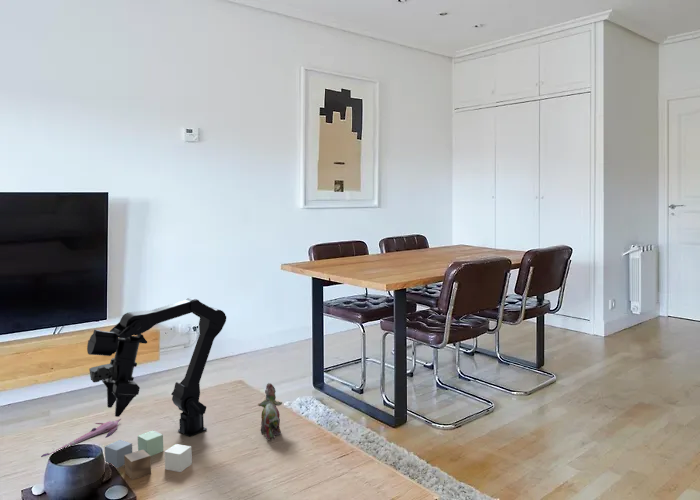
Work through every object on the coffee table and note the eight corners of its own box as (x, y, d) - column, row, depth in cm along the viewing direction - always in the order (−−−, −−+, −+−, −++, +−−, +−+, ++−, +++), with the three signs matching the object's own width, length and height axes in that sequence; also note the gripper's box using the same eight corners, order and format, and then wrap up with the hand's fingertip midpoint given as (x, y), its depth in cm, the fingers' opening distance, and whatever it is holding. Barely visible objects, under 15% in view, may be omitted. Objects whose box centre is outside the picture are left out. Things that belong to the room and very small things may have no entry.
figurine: (285, 426, 178) (284, 380, 176) (277, 442, 166) (276, 393, 165) (261, 425, 179) (260, 379, 177) (251, 441, 167) (250, 392, 165)
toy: (112, 411, 183) (134, 420, 179) (111, 417, 184) (133, 427, 180) (31, 449, 159) (54, 460, 154) (31, 456, 159) (54, 468, 155)
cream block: (176, 461, 154) (176, 443, 154) (191, 464, 153) (191, 446, 152) (164, 469, 150) (164, 451, 149) (180, 472, 148) (179, 454, 148)
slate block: (120, 456, 157) (120, 439, 157) (132, 460, 155) (132, 443, 154) (105, 463, 153) (104, 446, 153) (117, 468, 151) (116, 450, 150)
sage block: (154, 446, 164) (153, 430, 163) (163, 451, 161) (162, 434, 160) (138, 452, 160) (137, 435, 159) (147, 457, 157) (146, 440, 156)
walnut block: (143, 467, 151) (142, 449, 151) (151, 473, 147) (150, 455, 147) (125, 473, 148) (124, 455, 147) (132, 480, 144) (131, 461, 144)
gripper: (89, 348, 162) (76, 401, 161) (103, 361, 147) (89, 420, 146) (128, 351, 168) (116, 403, 167) (145, 365, 153) (132, 421, 152)
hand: (113, 411), depth 158 cm, fingers open, 9 cm apart
